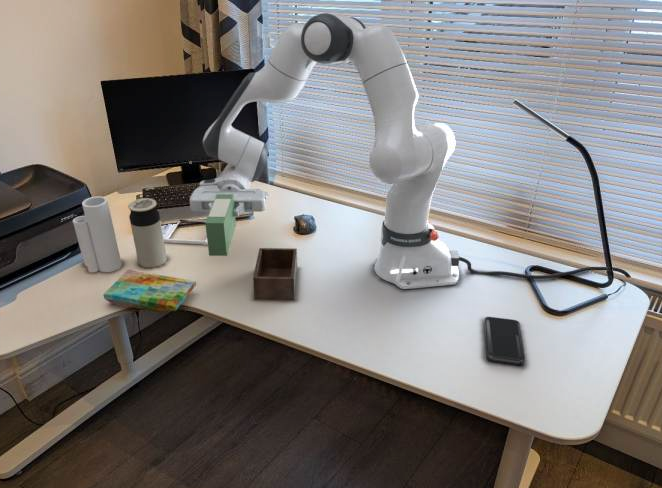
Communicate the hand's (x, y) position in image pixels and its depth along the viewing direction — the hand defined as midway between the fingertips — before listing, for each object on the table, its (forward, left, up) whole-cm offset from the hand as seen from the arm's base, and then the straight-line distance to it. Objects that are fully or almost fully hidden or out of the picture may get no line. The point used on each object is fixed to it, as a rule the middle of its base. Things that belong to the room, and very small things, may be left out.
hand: (224, 214), depth 143 cm
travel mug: (+23, -6, -18) cm, 30 cm away
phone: (-67, +28, -18) cm, 75 cm away
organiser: (-13, +5, -18) cm, 23 cm away
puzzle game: (+18, +14, -18) cm, 29 cm away
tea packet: (0, +5, -1) cm, 5 cm away
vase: (+37, -2, -18) cm, 41 cm away
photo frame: (+18, -23, -18) cm, 34 cm away
